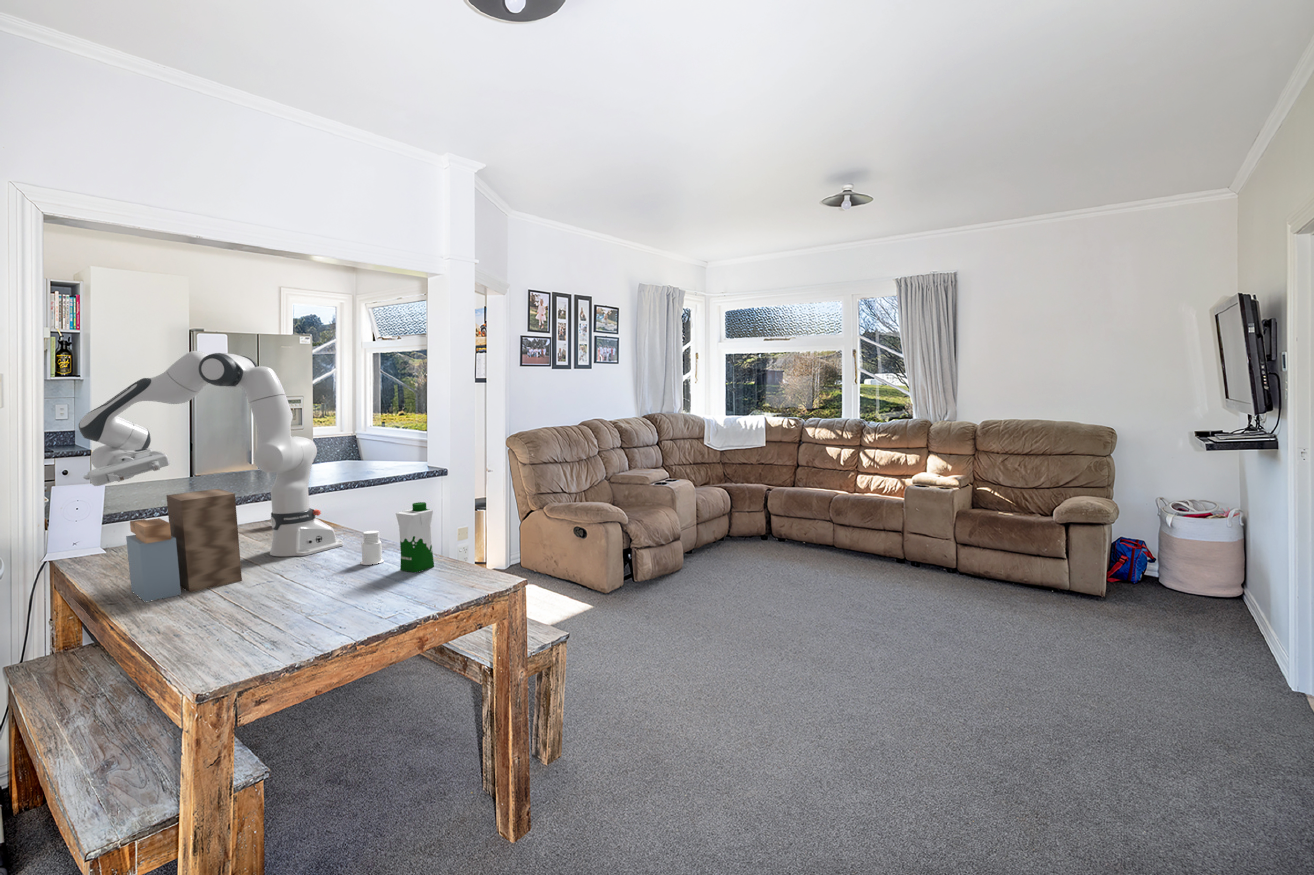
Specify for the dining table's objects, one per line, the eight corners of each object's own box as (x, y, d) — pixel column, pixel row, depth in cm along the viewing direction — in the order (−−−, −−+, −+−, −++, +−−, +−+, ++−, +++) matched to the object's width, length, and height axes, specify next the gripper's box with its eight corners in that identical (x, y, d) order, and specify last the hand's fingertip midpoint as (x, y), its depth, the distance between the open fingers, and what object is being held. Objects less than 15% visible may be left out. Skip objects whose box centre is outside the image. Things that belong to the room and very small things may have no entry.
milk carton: (438, 566, 203) (435, 503, 201) (415, 574, 195) (412, 508, 193) (418, 562, 207) (415, 501, 205) (395, 570, 199) (391, 506, 197)
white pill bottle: (374, 566, 204) (373, 534, 203) (354, 565, 205) (353, 534, 205) (389, 560, 212) (388, 529, 211) (370, 559, 213) (369, 529, 212)
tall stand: (225, 571, 201) (218, 488, 198) (241, 580, 192) (234, 493, 189) (174, 582, 191) (166, 495, 188) (189, 592, 182) (181, 500, 179)
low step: (166, 584, 189) (161, 530, 187) (180, 594, 180) (175, 537, 179) (131, 591, 183) (126, 536, 181) (145, 602, 174) (139, 544, 172)
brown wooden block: (150, 528, 190) (148, 513, 190) (171, 539, 177) (169, 523, 177) (125, 532, 186) (124, 516, 186) (145, 543, 173) (144, 526, 172)
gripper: (77, 467, 198) (94, 475, 191) (155, 446, 214) (173, 453, 207) (84, 486, 201) (101, 495, 193) (161, 463, 216) (179, 471, 209)
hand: (139, 473), depth 200 cm, fingers open, 8 cm apart
